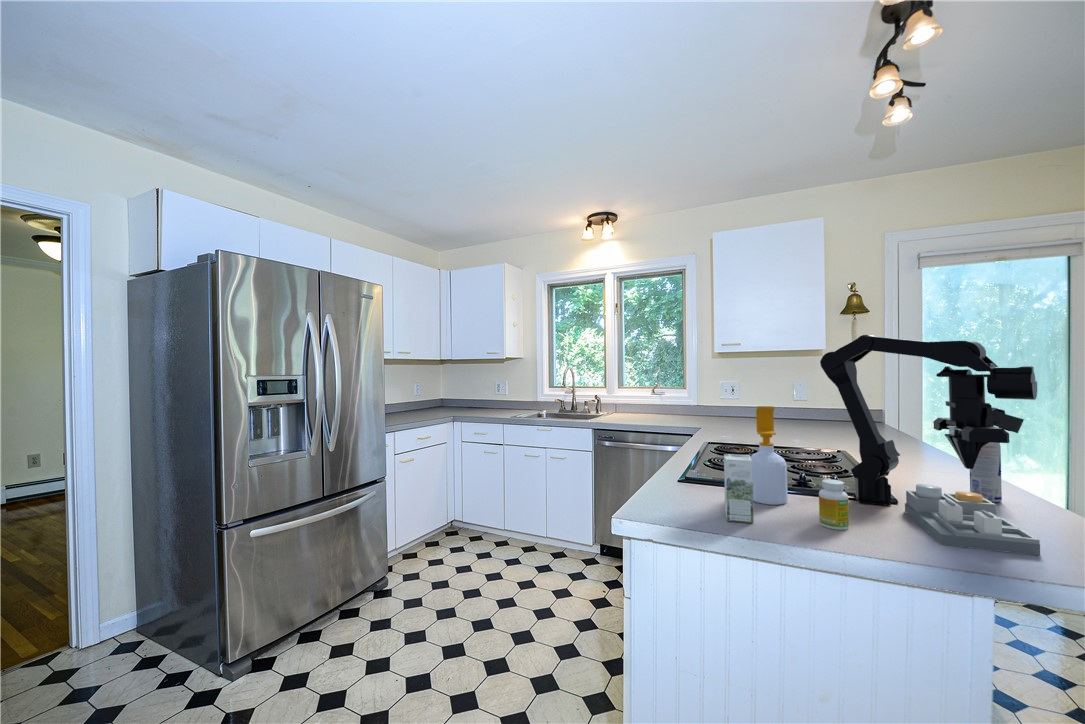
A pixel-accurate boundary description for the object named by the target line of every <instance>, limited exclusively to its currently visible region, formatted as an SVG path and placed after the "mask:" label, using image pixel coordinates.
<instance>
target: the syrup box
mask: <svg viewBox="0 0 1085 724" xmlns="http://www.w3.org/2000/svg"><path fill="white" fill-rule="evenodd" d="M723 470H724V471H723V472H724V476H723V477H724V478H723V479H724V480H723V481H724V513H725V518H726V521H727V522H736V523H743V524H744V523H746V524H754V501H753V462H752V460H751V455H749V454H732V453H731V454H727V453H726V454H725V453H724V454H723Z"/></svg>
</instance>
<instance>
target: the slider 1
mask: <svg viewBox="0 0 1085 724" xmlns="http://www.w3.org/2000/svg"><path fill="white" fill-rule="evenodd" d="M939 516H940V517H941V518H943V519H944V520H947V521H958V522H963V508H962V507H961V506H960V505H958V504H957V503H955V502H954V501H950V500H947V499H945V501H942V500H939Z"/></svg>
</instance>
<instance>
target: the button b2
mask: <svg viewBox="0 0 1085 724" xmlns="http://www.w3.org/2000/svg"><path fill="white" fill-rule="evenodd" d="M954 494H955V499H957V500H958V501H966V502H979V503H983V496H982V495H980V494H977V493H972V492H970V491H964V490H963V491H960V490H959V491H955V492H954Z"/></svg>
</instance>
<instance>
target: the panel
mask: <svg viewBox="0 0 1085 724" xmlns="http://www.w3.org/2000/svg"><path fill="white" fill-rule="evenodd" d="M905 493H906V494H905V495H906V496H905V498H906V501H905V502H904V512H905V513H906V514H908V516H909V517H910V518H912V519H913V520H914V521H915V522H916V523H917V524H918V525H920V526H921V528H922V529H924V530H925V531H926V532H927V533H929V535H930V536H932V538H934V539H935V540H936V541H937V542H938V543H939V544H941V545H942V546H951V547H957V548H958V547H960V548H969V549H978V550H986V551H987V550H988V551H993V552H994V551H996V552H1005V553H1014V554H1021V555H1023V554H1024V555H1032V556H1033V555H1034V556H1041V543H1040V542H1041V541H1040V539H1038V537H1036V536H1033V535H1032V534H1031V533H1028V532H1027V531H1025V530H1023V529H1022V528H1021V527H1019V526H1017V525H1016V524H1014V523H1012V522H1011V521H1009V520H1007V519H1006V518H1004V517H1003V518H1002V517H999V518H1000V519H1002V535H995V534H985V533H980V532H978V531H977V530H975V529H974V511H980V512H981V510H985V511H986V512H991V513H992V514H994V515H995V516H997V504H996V503H992V502H991V501H989V500H987V499H985V498H983V503H979V502H966V501H958V500H957V499H955V493H948V492H947V493H946V492H945V493H942V501H945V499H947V500H950V501H954V502H955V503H957V504H958V505H960V506H961V507H962V508H963V522H958V521H947V520H944V519H943V518H941V517H940V516H939V500H941V499H928V498H918V497H917V496H916V490H907V489H906V490H905Z"/></svg>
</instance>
